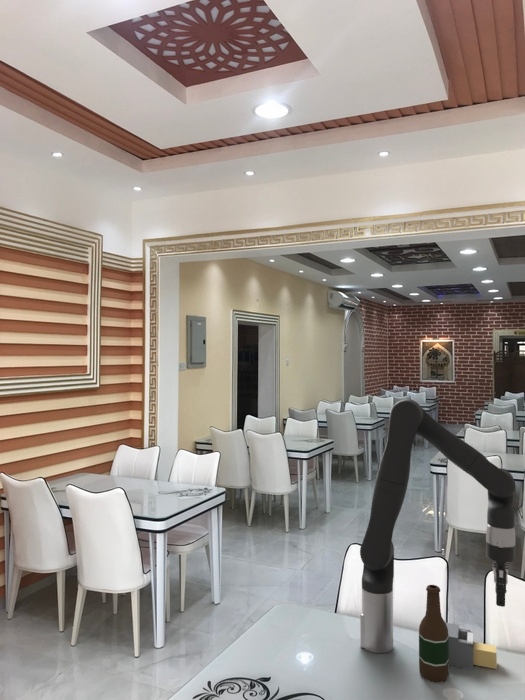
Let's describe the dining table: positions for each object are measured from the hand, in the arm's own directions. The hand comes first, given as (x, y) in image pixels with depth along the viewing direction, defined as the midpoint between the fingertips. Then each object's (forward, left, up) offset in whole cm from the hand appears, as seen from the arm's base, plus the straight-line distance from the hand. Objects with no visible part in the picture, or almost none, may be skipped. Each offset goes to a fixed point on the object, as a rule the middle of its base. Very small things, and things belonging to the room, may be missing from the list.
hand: (500, 599), depth 153 cm
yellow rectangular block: (-6, 0, -19) cm, 20 cm away
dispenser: (-13, 0, -19) cm, 23 cm away
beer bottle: (-17, -11, -19) cm, 28 cm away
